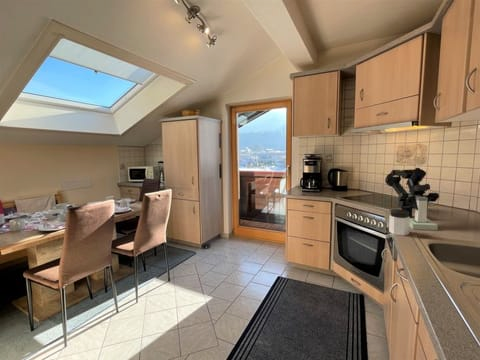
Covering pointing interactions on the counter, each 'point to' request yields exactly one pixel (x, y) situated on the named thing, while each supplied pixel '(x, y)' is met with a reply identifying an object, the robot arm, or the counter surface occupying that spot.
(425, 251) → the counter surface
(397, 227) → the jar
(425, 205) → the plug
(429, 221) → the socket
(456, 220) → the counter surface
